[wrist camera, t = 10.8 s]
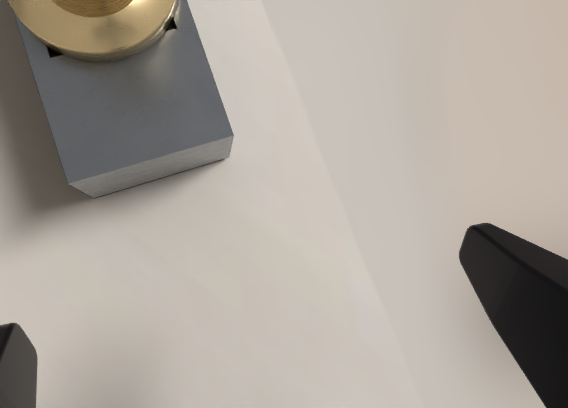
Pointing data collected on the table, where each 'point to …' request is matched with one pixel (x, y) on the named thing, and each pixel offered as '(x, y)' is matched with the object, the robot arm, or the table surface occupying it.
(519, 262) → the robot arm
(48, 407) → the table surface
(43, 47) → the steel hitch block
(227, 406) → the table surface
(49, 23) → the brass pin
